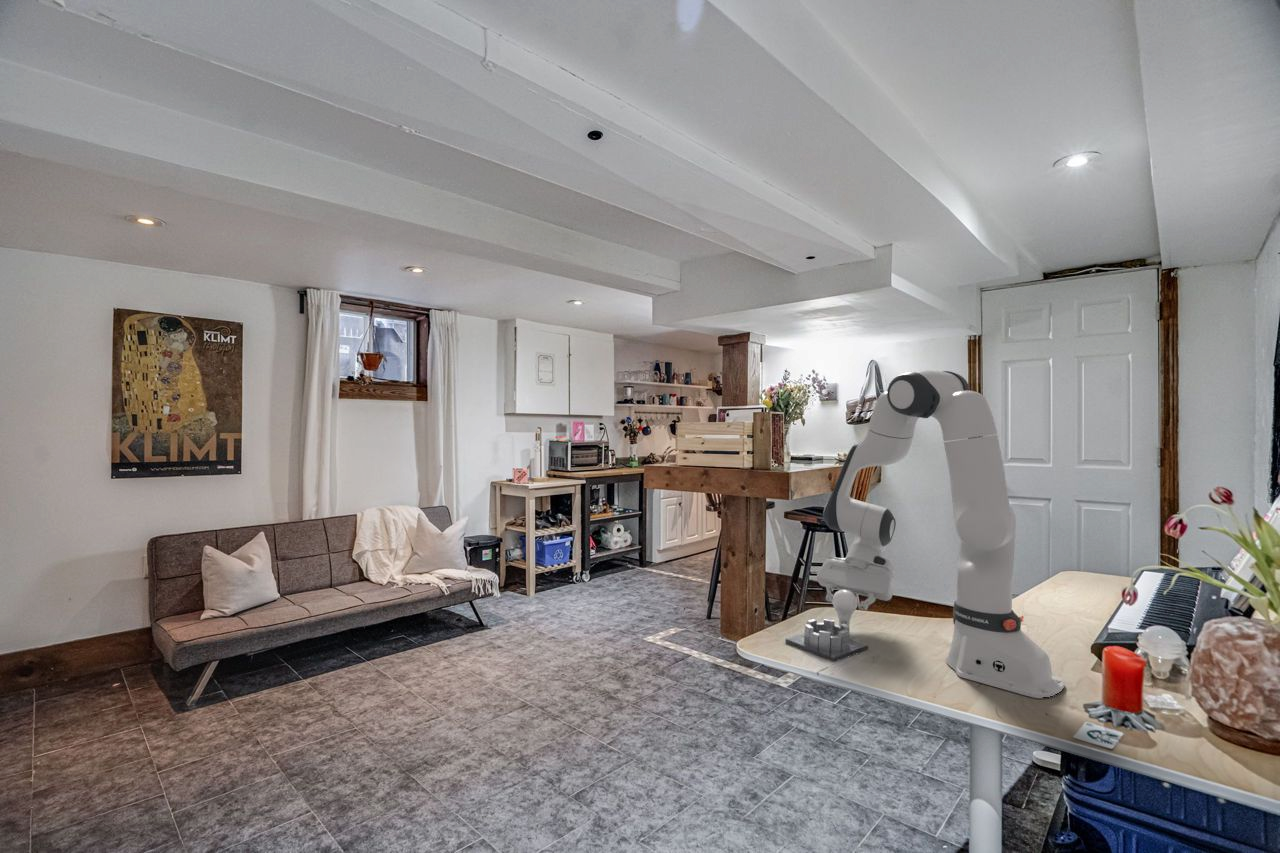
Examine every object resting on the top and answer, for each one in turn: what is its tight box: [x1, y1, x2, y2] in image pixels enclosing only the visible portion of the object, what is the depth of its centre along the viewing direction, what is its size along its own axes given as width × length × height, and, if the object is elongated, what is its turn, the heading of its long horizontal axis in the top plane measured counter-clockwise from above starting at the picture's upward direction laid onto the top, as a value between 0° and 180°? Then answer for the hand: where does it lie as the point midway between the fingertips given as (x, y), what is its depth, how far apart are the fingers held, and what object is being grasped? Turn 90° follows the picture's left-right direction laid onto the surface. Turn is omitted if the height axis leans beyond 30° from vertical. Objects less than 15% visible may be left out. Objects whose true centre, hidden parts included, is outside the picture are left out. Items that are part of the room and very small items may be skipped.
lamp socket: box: [785, 618, 869, 663], centre depth 147 cm, size 14×14×5 cm
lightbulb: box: [831, 589, 859, 628], centre depth 158 cm, size 6×6×11 cm
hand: (845, 604), depth 159 cm, fingers open, 8 cm apart
